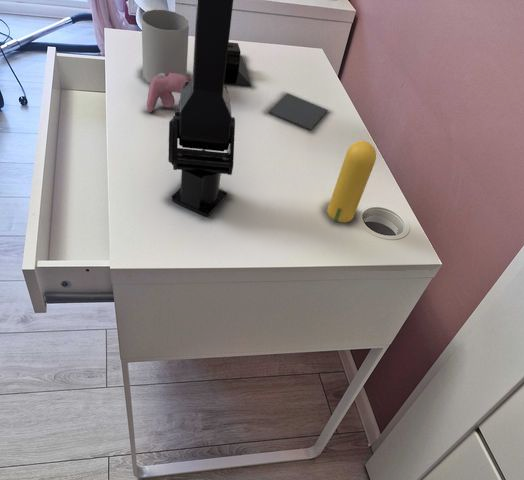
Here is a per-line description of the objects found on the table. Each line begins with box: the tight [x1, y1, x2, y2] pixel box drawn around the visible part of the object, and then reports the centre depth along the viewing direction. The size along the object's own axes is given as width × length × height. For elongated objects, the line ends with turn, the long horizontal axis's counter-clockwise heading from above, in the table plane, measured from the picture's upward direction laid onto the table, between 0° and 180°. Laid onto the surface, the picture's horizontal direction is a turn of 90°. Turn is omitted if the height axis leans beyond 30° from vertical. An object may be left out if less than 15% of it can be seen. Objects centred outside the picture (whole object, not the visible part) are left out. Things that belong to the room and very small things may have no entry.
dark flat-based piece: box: [224, 41, 252, 88], centre depth 101 cm, size 12×7×5 cm, turn 10°
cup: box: [141, 9, 190, 84], centre depth 93 cm, size 8×8×10 cm
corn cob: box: [327, 140, 377, 223], centre depth 76 cm, size 5×4×12 cm
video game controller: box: [146, 73, 193, 113], centre depth 89 cm, size 10×5×7 cm, turn 84°
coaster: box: [268, 92, 328, 132], centre depth 97 cm, size 9×9×1 cm
